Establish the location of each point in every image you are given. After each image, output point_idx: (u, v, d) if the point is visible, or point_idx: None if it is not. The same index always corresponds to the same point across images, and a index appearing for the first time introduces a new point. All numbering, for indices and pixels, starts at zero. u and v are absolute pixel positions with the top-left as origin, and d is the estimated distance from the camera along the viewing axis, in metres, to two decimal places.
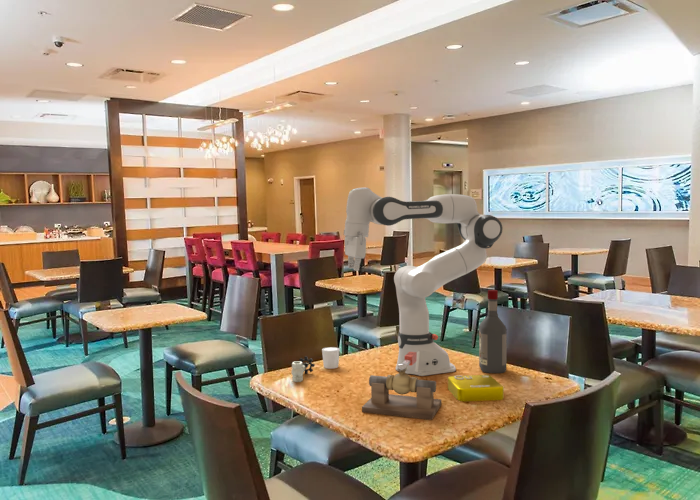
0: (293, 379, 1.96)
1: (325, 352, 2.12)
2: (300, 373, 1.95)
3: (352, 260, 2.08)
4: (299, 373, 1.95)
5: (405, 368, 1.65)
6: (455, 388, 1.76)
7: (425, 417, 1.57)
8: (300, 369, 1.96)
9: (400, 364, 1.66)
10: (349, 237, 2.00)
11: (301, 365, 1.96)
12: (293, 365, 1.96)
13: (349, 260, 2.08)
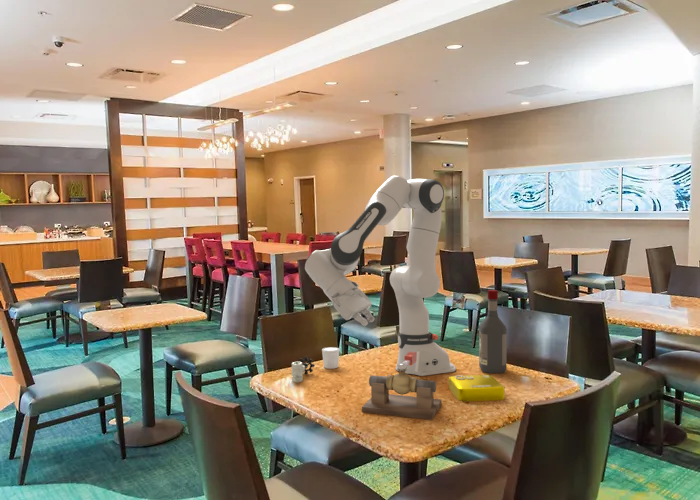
0: (293, 379, 1.96)
1: (325, 352, 2.12)
2: (300, 373, 1.95)
3: (368, 313, 1.84)
4: (299, 373, 1.95)
5: (405, 368, 1.65)
6: (456, 388, 1.76)
7: (425, 417, 1.57)
8: (300, 369, 1.95)
9: (400, 364, 1.66)
10: None
11: (301, 365, 1.96)
12: (293, 365, 1.95)
13: (366, 315, 1.84)
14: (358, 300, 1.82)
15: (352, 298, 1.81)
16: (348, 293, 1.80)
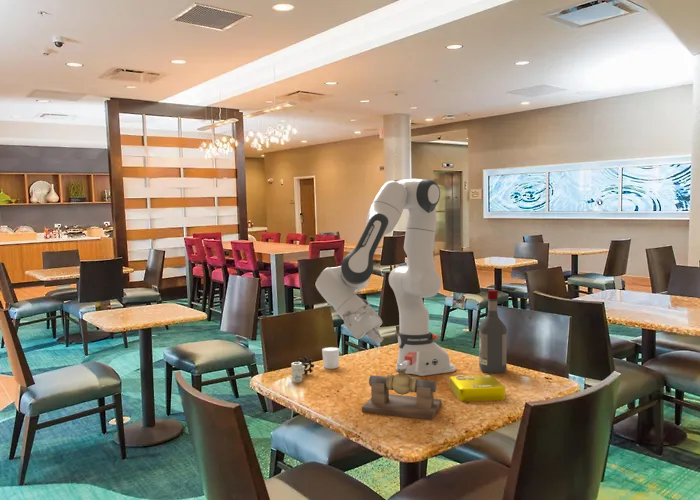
0: (292, 380, 1.95)
1: (325, 352, 2.12)
2: (299, 374, 1.95)
3: (377, 333, 1.81)
4: (298, 374, 1.94)
5: (405, 368, 1.65)
6: (457, 388, 1.76)
7: (425, 417, 1.57)
8: (299, 370, 1.95)
9: (400, 364, 1.66)
10: None
11: (300, 366, 1.96)
12: (292, 366, 1.95)
13: None
14: (369, 318, 1.81)
15: (363, 316, 1.80)
16: (359, 311, 1.79)
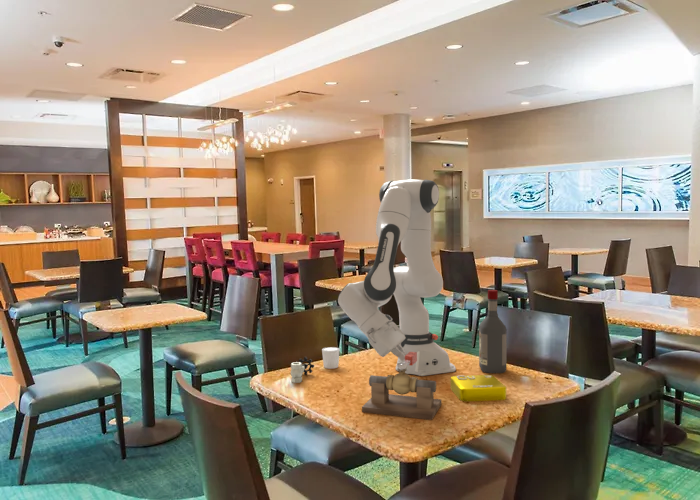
0: (292, 380, 1.95)
1: (325, 352, 2.12)
2: (299, 374, 1.94)
3: (401, 349, 1.78)
4: (298, 374, 1.94)
5: (405, 368, 1.65)
6: (458, 388, 1.76)
7: (425, 417, 1.57)
8: (299, 370, 1.95)
9: (400, 364, 1.66)
10: None
11: (300, 366, 1.95)
12: (292, 366, 1.95)
13: None
14: (393, 335, 1.79)
15: (387, 333, 1.77)
16: (383, 328, 1.76)
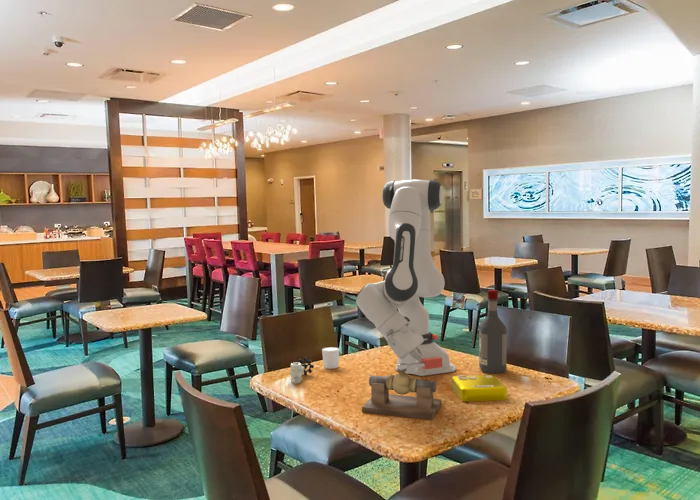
0: (292, 380, 1.95)
1: (325, 352, 2.12)
2: (299, 374, 1.94)
3: (419, 352, 1.74)
4: (297, 374, 1.94)
5: (401, 368, 1.65)
6: (458, 388, 1.76)
7: (425, 417, 1.57)
8: (299, 370, 1.94)
9: (400, 364, 1.66)
10: None
11: (300, 366, 1.95)
12: (292, 366, 1.94)
13: None
14: (411, 337, 1.75)
15: (406, 335, 1.73)
16: (402, 330, 1.72)
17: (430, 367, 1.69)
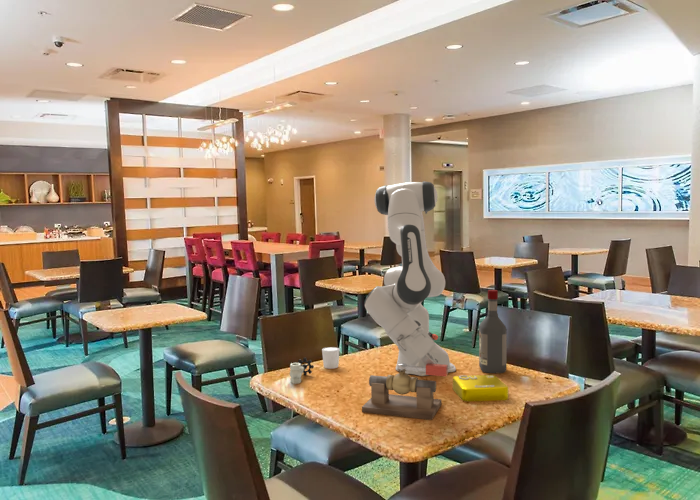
0: (291, 381, 1.94)
1: (325, 352, 2.12)
2: (298, 375, 1.93)
3: (431, 357, 1.67)
4: (297, 375, 1.93)
5: (398, 368, 1.65)
6: (459, 388, 1.76)
7: (425, 417, 1.57)
8: (298, 371, 1.94)
9: (401, 363, 1.67)
10: None
11: (299, 367, 1.94)
12: (291, 366, 1.94)
13: None
14: (423, 342, 1.68)
15: (417, 340, 1.67)
16: (413, 335, 1.65)
17: (431, 373, 1.62)
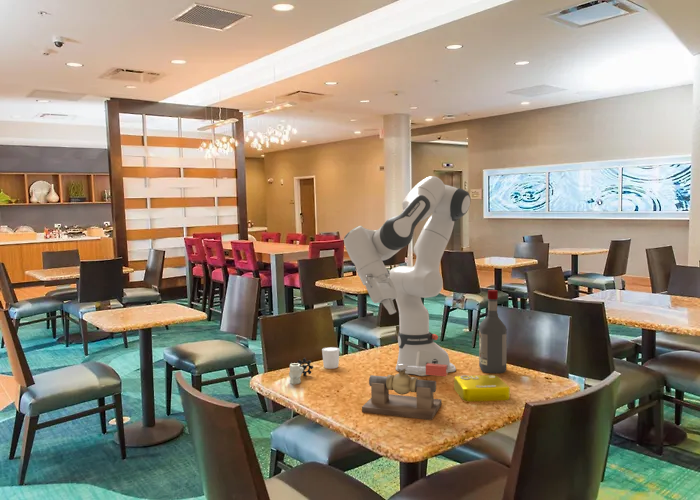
0: (291, 381, 1.94)
1: (325, 352, 2.12)
2: (298, 375, 1.93)
3: (391, 304, 1.75)
4: (296, 375, 1.92)
5: (398, 368, 1.65)
6: (461, 388, 1.76)
7: (425, 417, 1.57)
8: (298, 371, 1.93)
9: (401, 363, 1.67)
10: None
11: (299, 367, 1.94)
12: (291, 367, 1.93)
13: None
14: (388, 288, 1.76)
15: (383, 284, 1.74)
16: (381, 277, 1.73)
17: (431, 373, 1.62)
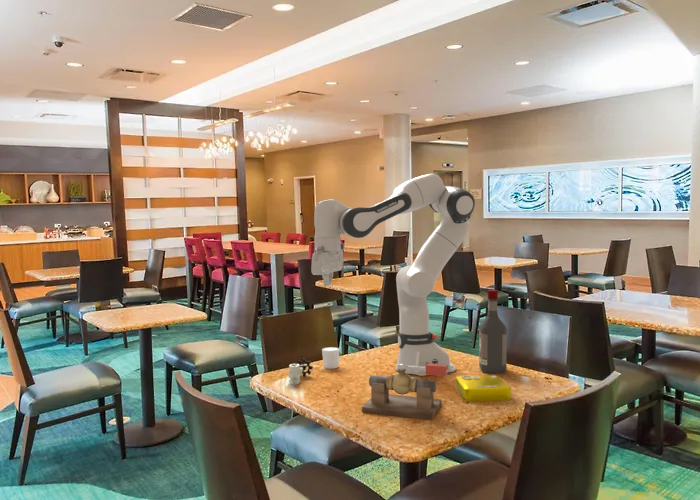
0: (290, 382, 1.93)
1: (325, 352, 2.12)
2: (297, 376, 1.92)
3: (330, 276, 1.94)
4: (296, 376, 1.92)
5: (398, 368, 1.65)
6: (462, 388, 1.76)
7: (425, 417, 1.57)
8: (297, 372, 1.92)
9: (401, 363, 1.67)
10: None
11: (298, 367, 1.93)
12: (290, 367, 1.93)
13: None
14: (334, 262, 1.94)
15: (330, 258, 1.91)
16: (330, 253, 1.90)
17: (431, 373, 1.62)
